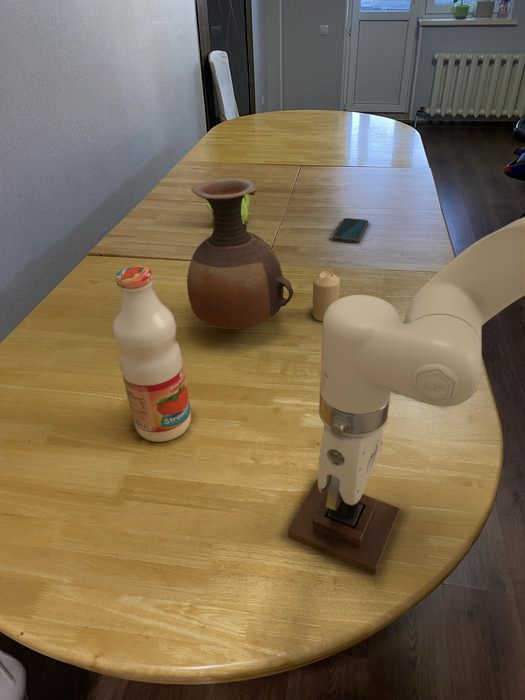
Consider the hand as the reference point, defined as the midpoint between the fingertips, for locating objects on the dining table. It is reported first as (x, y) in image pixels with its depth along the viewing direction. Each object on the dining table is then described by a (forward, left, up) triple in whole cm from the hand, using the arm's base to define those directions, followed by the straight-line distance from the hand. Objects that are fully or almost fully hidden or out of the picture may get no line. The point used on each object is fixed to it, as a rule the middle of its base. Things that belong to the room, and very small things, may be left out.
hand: (344, 509), depth 67 cm
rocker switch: (0, 0, -2) cm, 2 cm away
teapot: (+70, -85, -3) cm, 110 cm away
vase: (+38, -36, -3) cm, 52 cm away
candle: (+23, -48, -3) cm, 53 cm away
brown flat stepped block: (0, 0, -3) cm, 3 cm away
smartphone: (+34, -93, -3) cm, 99 cm away
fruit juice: (+34, -5, -3) cm, 34 cm away
